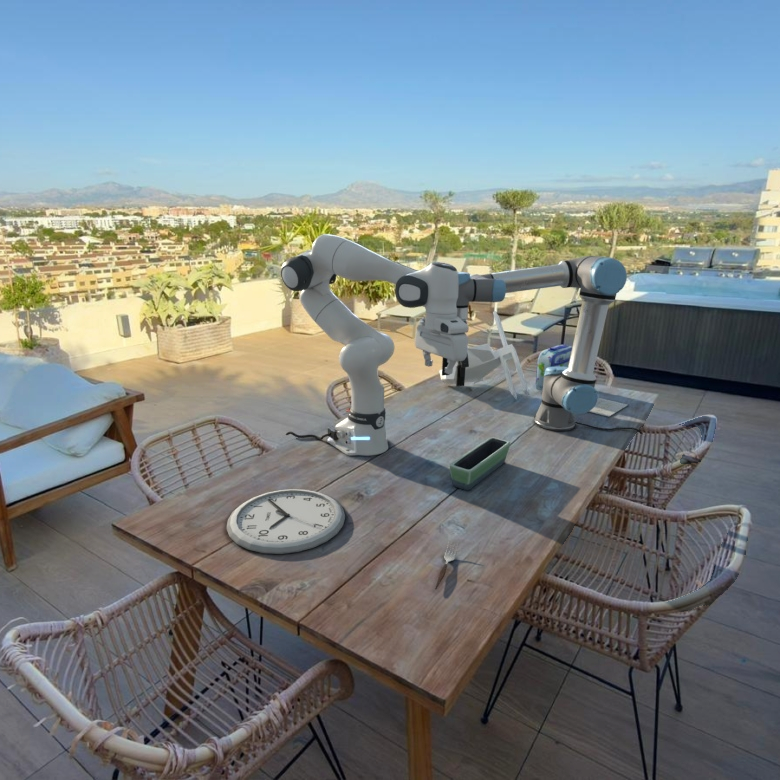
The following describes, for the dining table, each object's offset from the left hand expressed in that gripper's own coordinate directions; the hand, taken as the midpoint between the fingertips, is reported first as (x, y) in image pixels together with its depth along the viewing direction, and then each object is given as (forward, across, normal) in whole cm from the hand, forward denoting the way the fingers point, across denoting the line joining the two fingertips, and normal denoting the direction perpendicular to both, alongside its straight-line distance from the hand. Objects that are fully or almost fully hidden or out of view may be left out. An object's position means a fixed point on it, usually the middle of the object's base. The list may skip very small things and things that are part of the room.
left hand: (438, 369), depth 151 cm
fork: (+34, +39, -26) cm, 57 cm away
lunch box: (+33, -43, +105) cm, 119 cm away
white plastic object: (+34, -57, +70) cm, 97 cm away
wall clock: (+34, +1, -48) cm, 59 cm away
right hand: (+11, -20, +22) cm, 32 cm away
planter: (+34, +7, +14) cm, 37 cm away
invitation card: (+33, -16, +102) cm, 109 cm away
